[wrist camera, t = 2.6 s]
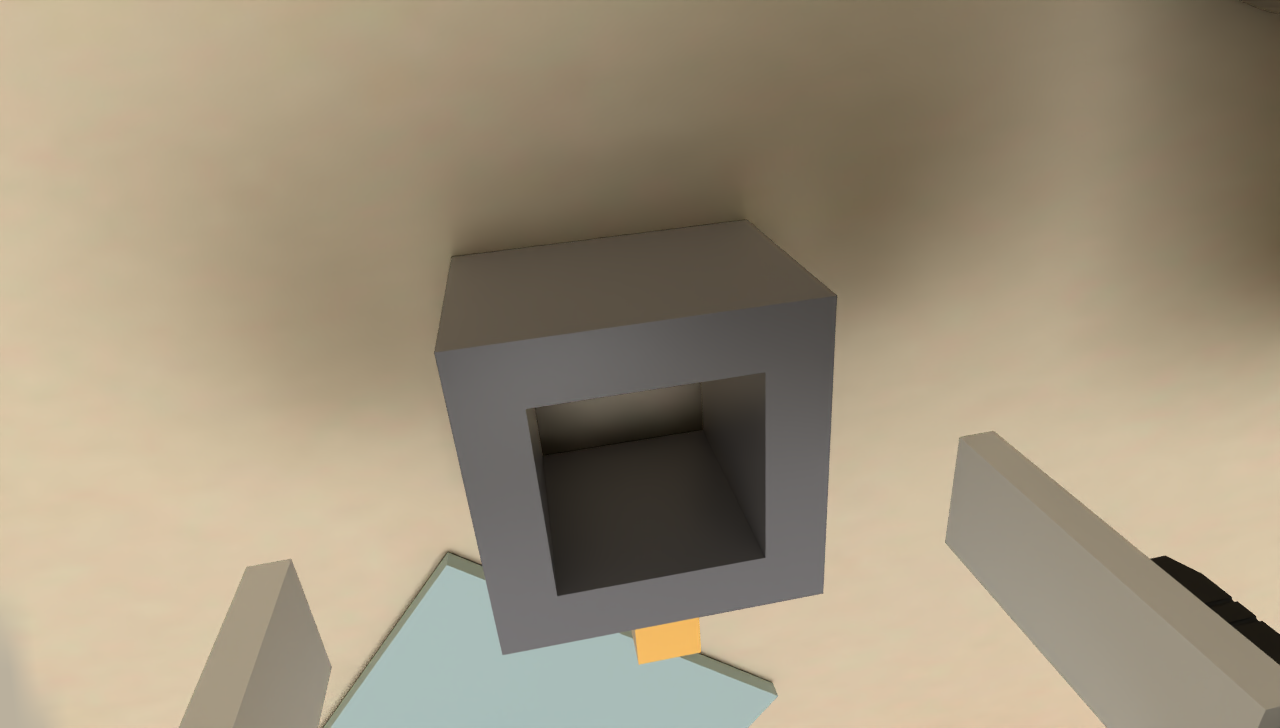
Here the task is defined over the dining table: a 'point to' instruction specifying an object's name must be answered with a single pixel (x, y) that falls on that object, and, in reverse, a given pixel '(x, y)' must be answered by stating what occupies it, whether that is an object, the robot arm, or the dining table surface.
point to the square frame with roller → (650, 468)
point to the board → (532, 675)
